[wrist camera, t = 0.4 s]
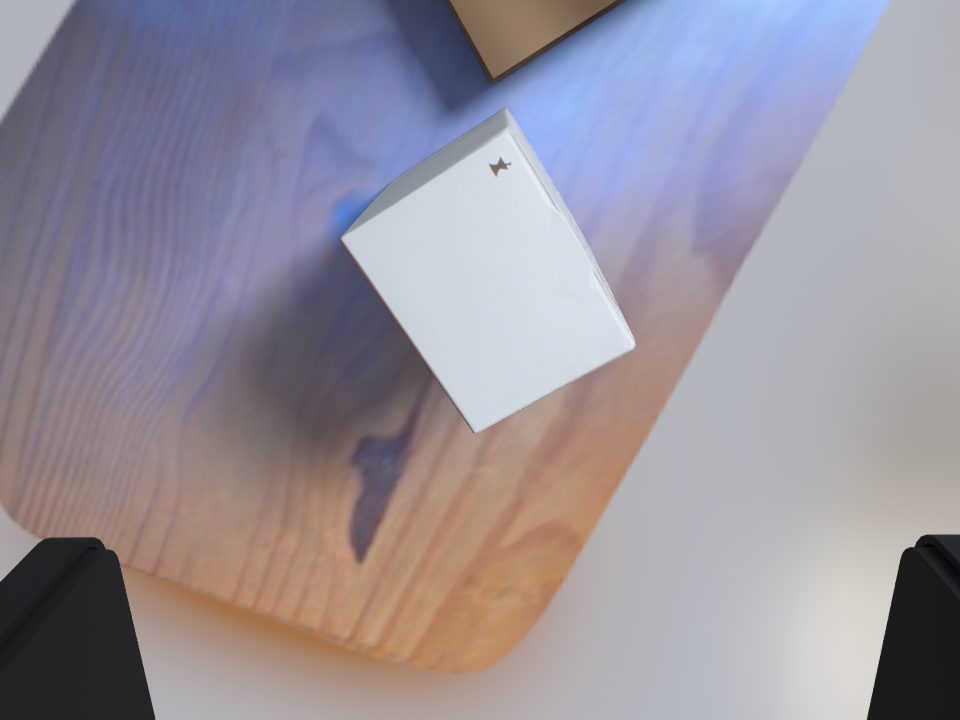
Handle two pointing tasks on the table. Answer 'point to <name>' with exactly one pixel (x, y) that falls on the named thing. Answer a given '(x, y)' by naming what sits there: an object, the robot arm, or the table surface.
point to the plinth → (521, 28)
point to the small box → (489, 274)
